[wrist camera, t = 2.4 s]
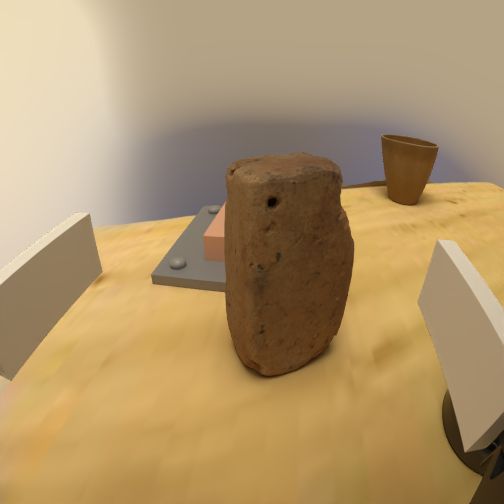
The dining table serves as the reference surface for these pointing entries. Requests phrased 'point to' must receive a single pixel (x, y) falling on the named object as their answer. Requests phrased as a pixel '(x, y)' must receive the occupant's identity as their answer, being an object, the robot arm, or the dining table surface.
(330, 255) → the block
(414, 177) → the plant pot
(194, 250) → the tower base
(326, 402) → the dining table surface
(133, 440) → the dining table surface
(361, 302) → the dining table surface
